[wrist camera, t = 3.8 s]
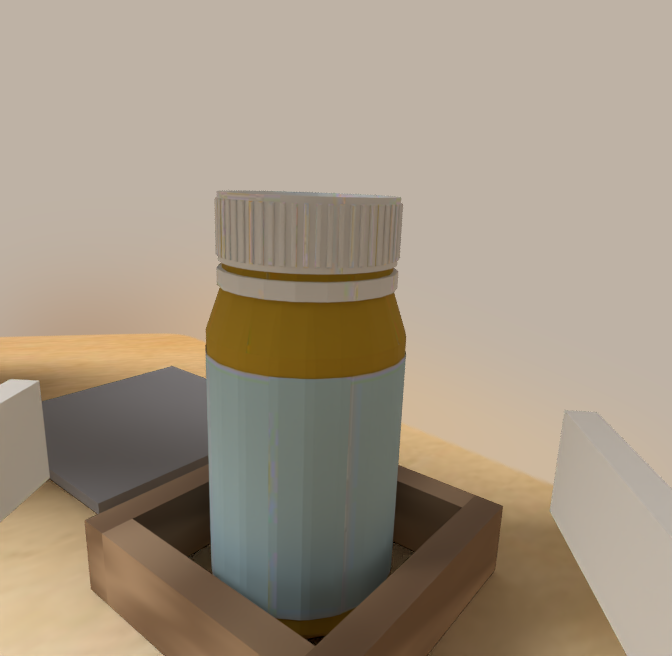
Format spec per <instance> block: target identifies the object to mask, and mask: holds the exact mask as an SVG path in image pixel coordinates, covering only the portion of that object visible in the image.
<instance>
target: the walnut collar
mask: <svg viewBox="0 0 672 656" xmlns="http://www.w3.org/2000/svg"><path fill="white" fill-rule="evenodd" d="M502 510H503V506H501V505H499V504H496V503H494V502H491V501H489V500H486V499H484V498H481V497H479V496H476V495H473V494H471V493H468V492H466V491H463V490H461V489H458V488H456V487H453V486H450V485H448V484H445V483H443V482H440V481H438V480H435V479H433V478H430V477H427V476H425V475H422V474H420V473H417V472H415V471H412V470H410V469H407V468H405V467H402V466H399V465H398V474H397V489H396V503H395V518H394V532H393V541H394V542H396V543H398V544H400V545H402V546H404V547H406V548H409V549H411V550H413V551H415V553H413V554H412V555H411V556H410V557H409V558H408V559H407V560H406V561H405V562H404V563H403V564H402V565H401V566H400V567H399V568H398V569H396V570H395V571H394V572H393V573H392V574H391V575H390V576H389V577H388V578H387V579H386V580H385V581H384V582H383V583H382V584H381V585H380V586H378V587H377V588H376V589H375V590H374V591H373V592H372V593H371V594H370V595H369V596H368V597H367V598H366V599H365V600H364V601H363V602H361V603H360V604H359V605H358V606H357V607H356V608H355V609H354V610H353V611H352V612H351V613H350V614H349V615H348V616H347V617H346V618H345V619H343V620H342V621H341V622H340V623H339V624H338V625H337V626H336V627H335V628H334V629H333V630H332V631H331V632H330V633H329V634H328V635H326V636H325V637H324V638H323V639H322V640H321V641H320V642H319V643H318V644H317V645H316V646H314V645H313V644H312V643H310V642H309V641H307V640H306V639H304V638H303V637H301V636H300V635H299V634H297V633H296V632H294V631H293V630H291V629H290V628H289V627H287V626H286V625H284V624H283V623H281V622H280V621H278V620H277V619H276V618H274V617H273V616H271V615H270V614H268V613H267V612H266V611H264V610H263V609H261V608H260V607H258V606H257V605H256V604H254V603H253V602H251V601H250V600H248V599H247V598H245V597H244V596H243V595H241V594H240V593H238V592H237V591H235V590H234V589H233V588H231V587H230V586H228V585H227V584H225V583H224V582H222V581H221V580H220V579H218V578H217V577H215V576H214V575H212V574H211V573H210V572H208V571H207V570H205V569H204V568H202V567H201V566H200V565H198V564H197V563H195V562H194V561H192V560H191V559H189V558H188V556H190V555H191V554H193V553H195V552H196V551H198V550H200V549H201V548H203V547H205V546H206V545H208V544H210V543H211V531H210V494H209V464H207V465H205V466H203V467H200V468H198V469H196V470H194V471H192V472H190V473H187V474H185V475H183V476H181V477H179V478H176V479H174V480H172V481H170V482H168V483H165V484H163V485H161V486H159V487H157V488H154V489H152V490H150V491H148V492H146V493H143V494H141V495H139V496H137V497H135V498H132V499H130V500H128V501H126V502H124V503H122V504H119V505H117V506H115V507H113V508H111V509H108V510H106V511H104V512H102V513H100V514H97V515H95V516H93V517H91V518H89V519H86V520H85V529H86V540H87V551H88V561H89V572H90V583H91V589H92V590H93V591H94V592H95V593H96V594H97V595H98V596H99V597H100V598H101V599H103V600H104V601H105V602H106V603H107V604H108V605H109V606H110V607H111V608H113V609H114V610H115V611H116V612H117V613H118V614H119V615H120V616H121V617H123V618H124V619H125V620H126V621H127V622H128V623H129V624H130V625H131V626H132V627H134V628H135V629H136V630H137V631H138V632H139V633H140V634H141V635H142V636H144V637H145V638H146V639H147V640H148V641H149V642H150V643H151V644H152V645H153V646H155V647H156V648H157V649H158V650H159V651H160V652H161V653H162V654H163V655H165V656H427V655H428V654H429V652H430V651H431V650H432V648H433V647H434V646H435V645H436V643H437V642H438V641H439V640H440V638H441V637H442V636H443V635H444V633H445V632H446V631H447V630H448V628H449V627H450V626H451V625H452V623H453V622H454V621H455V620H456V618H457V617H458V616H459V614H460V613H461V612H462V611H463V609H464V608H465V607H466V606H467V604H468V603H469V602H470V601H471V599H472V598H473V597H474V596H475V594H476V593H477V592H478V591H479V589H480V588H481V587H482V586H483V584H484V583H485V582H486V580H487V579H488V578H489V577H490V575H491V574H492V573H493V572H494V570H495V566H496V558H497V550H498V542H499V534H500V526H501V518H502Z"/></svg>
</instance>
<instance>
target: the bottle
mask: <svg viewBox="0 0 672 656" xmlns="http://www.w3.org/2000/svg"><path fill="white" fill-rule="evenodd" d="M402 212H403V204H402V203H401V197H395V196H379V195H361V194H337V193H313V192H281V191H217V197H216V198H215V237H216V254H217V256H218V261H219V262H221V263H220V264H219V265H218V266H217V285H218V286H219V287H220V288H219V291H218V294H217V297H216V300H215V303H214V306H213V309H212V312H211V315H210V318H209V321H208V324H207V327H206V383H207V420H208V457H209V494H210V531H211V564H212V575H214V576H215V577H217V578H218V579H220V580H221V581H222V582H224V583H225V584H227V585H228V586H230V587H231V588H233V589H234V590H235V591H237V592H238V593H240V594H241V595H243V596H244V597H245V598H247V599H248V600H250V601H251V602H253V603H254V604H256V605H257V606H258V607H260V608H261V609H263V610H264V611H266V612H267V613H268V614H270V615H271V616H273V617H274V618H276V619H277V620H278V621H280V622H281V623H283V624H284V625H286V626H287V627H289V628H290V629H291V630H293V631H294V632H296V633H297V634H299V635H300V636H301V637H303V638H304V639H308V638H314V637H320V636H326V635H328V634H329V633H330V632H331V631H332V630H333V629H334V628H335V627H336V626H337V625H338V624H339V623H340V622H341V621H342V620H343V619H345V618H346V617H347V616H348V615H349V614H350V613H351V612H352V611H353V610H354V609H355V608H356V607H357V606H358V605H359V604H360V603H361V602H363V601H364V600H365V599H366V598H367V597H368V596H369V595H370V594H371V593H372V592H373V591H374V590H375V589H376V588H377V587H378V586H380V585H381V584H382V583H383V582H384V581H385V580H386V579H387V578H388V577H389V576H390V569H391V561H392V546H393V532H394V518H395V503H396V489H397V474H398V460H399V445H400V431H401V416H402V402H403V387H404V373H405V359H406V352H405V346H406V334H405V330H404V326H403V323H402V319H401V315H400V312H399V309H398V305H397V302H396V298H395V294H394V292H395V290H396V289H397V282H398V271H397V270H396V269H395V268H394V267H396V266H397V261H398V260H399V258H400V243H401V227H402Z"/></svg>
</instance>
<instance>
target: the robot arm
mask: <svg viewBox="0 0 672 656" xmlns="http://www.w3.org/2000/svg"><path fill="white" fill-rule="evenodd" d="M49 478H50V474H49V465H48V456H47V446H46V437H45V428H44V419H43V410H42V400H41V391H40V382H39V381H36V380H19V379H10V380H8V381H6V382H4V383H2V384H0V522H1V521H2V520H3V519H5V518H6V517H7V516H8V515H9V514H10V513H11V512H12V511H13V510H15V509H16V508H17V507H18V506H19V505H20V504H21V503H22V502H23V501H25V500H26V499H27V498H28V497H29V496H30V495H31V494H32V493H34V492H35V491H36V490H37V489H38V488H39V487H40V486H41V485H42V484H44V483H45V482H46V481H47V480H48V479H49ZM550 513H551V515H552V516H553V518H554V520H555V522H556V524H557V526H558V528H559V530H560V531H561V533H562V535H563V537H564V539H565V541H566V543H567V545H568V546H569V548H570V550H571V552H572V554H573V556H574V558H575V560H576V561H577V563H578V565H579V567H580V569H581V571H582V573H583V575H584V576H585V578H586V580H587V582H588V584H589V586H590V588H591V589H592V591H593V593H594V595H595V597H596V599H597V601H598V603H599V604H600V606H601V608H602V610H603V612H604V614H605V616H606V618H607V619H608V621H609V623H610V625H611V627H612V629H613V631H614V633H615V634H616V636H617V638H618V640H619V642H620V644H621V646H622V648H623V649H624V651H625V653H626V655H627V656H672V488H671V487H670V486H669V485H668V484H667V483H665V481H664V480H663V479H662V478H661V477H660V476H659V475H658V474H657V473H656V472H655V471H654V470H653V469H652V468H651V467H650V466H649V465H648V464H647V463H646V462H645V461H644V460H643V459H642V458H641V457H640V456H639V455H638V453H637V452H636V451H635V450H634V449H633V448H632V447H630V445H629V444H628V443H627V442H626V441H625V440H624V439H623V438H622V437H621V436H620V435H619V434H618V433H617V432H616V431H615V430H614V429H613V428H612V427H611V426H610V425H609V424H608V423H607V422H606V421H605V420H604V419H603V418H602V417H601V416H600V415H599V414H598V413H597V412H586V411H568V410H565V411H564V418H563V425H562V431H561V438H560V445H559V452H558V458H557V465H556V472H555V479H554V486H553V492H552V499H551V506H550Z"/></svg>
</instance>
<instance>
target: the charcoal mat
mask: <svg viewBox="0 0 672 656" xmlns="http://www.w3.org/2000/svg"><path fill="white" fill-rule="evenodd" d="M42 410H43V419H44V428H45V437H46V446H47V456H48V465H49V474H50V479H51V480H52V481H54V482H55V483H56V484H58V485H59V486H60V487H62V488H63V489H64V490H66V491H67V492H69V493H70V494H71V495H73V496H74V497H75V498H77V499H78V500H79V501H81V502H82V503H83V504H85V505H86V506H88V507H89V508H90V509H92V510H93V511H94V512H96V513H97V514H100V513H102V512H104V511H106V510H108V509H111V508H113V507H115V506H117V505H119V504H122V503H124V502H126V501H128V500H130V499H132V498H135V497H137V496H139V495H141V494H143V493H146V492H148V491H150V490H152V489H154V488H157V487H159V486H161V485H163V484H165V483H168V482H170V481H172V480H174V479H176V478H179V477H181V476H183V475H185V474H187V473H190V472H192V471H194V470H196V469H198V468H200V467H203V466H205V465H207V464H209V457H208V420H207V383H206V379H205V378H203V377H200V376H197V375H195V374H192V373H189V372H187V371H184V370H181V369H179V368H176V367H173V366H171V367H167V368H164V369H160V370H156V371H153V372H149V373H145V374H142V375H138V376H134V377H130V378H127V379H123V380H119V381H116V382H112V383H108V384H105V385H101V386H97V387H94V388H90V389H86V390H83V391H79V392H75V393H71V394H68V395H64V396H60V397H57V398H53V399H49V400H46V401H42Z"/></svg>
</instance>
